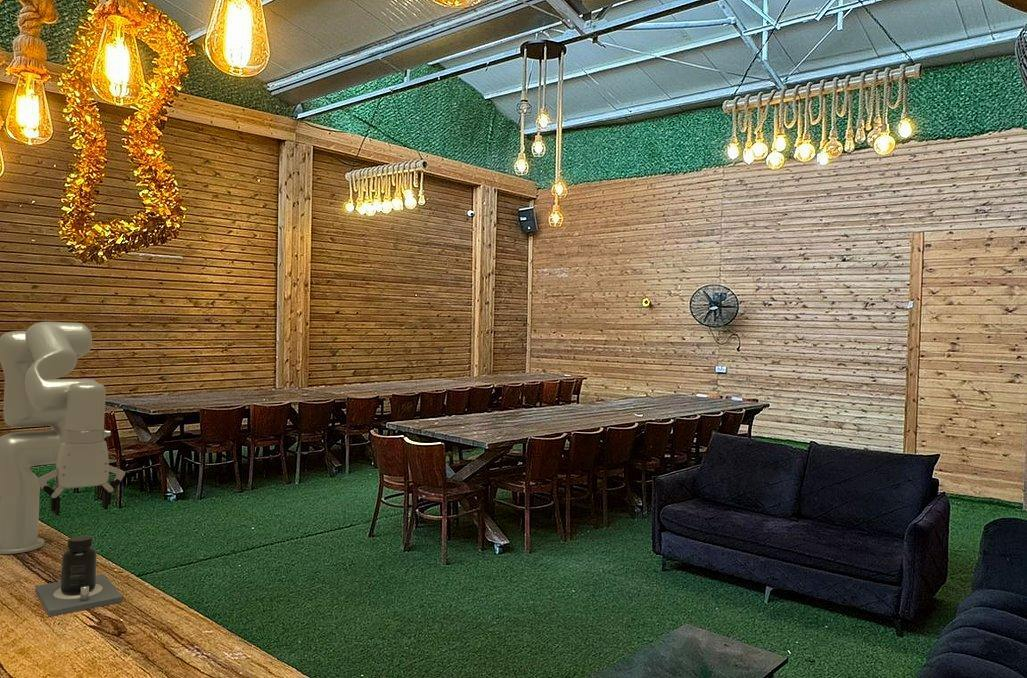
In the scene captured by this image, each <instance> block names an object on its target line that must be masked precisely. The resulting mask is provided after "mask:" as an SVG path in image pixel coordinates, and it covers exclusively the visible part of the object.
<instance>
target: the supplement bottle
mask: <svg viewBox="0 0 1027 678" xmlns="http://www.w3.org/2000/svg"><path fill="white" fill-rule="evenodd" d="M92 546H93V537H92V536H90V535H79V536H74V537H69V538H68V540H67V546H66V548H67V549H68V550H66V551H64V552H63V554H62V557H61V572H60V573H61V575H60V577H61V579H60V581H61V592H62V593H63V594H65V595H79V594H81V587H82V586H85V585H88V586H89V592H90V591H92V590H93V589H94V588H95V585H96V575H97V558H98V557H97V554H98V553H97V551H96V549H95V548H93V547H92Z"/></svg>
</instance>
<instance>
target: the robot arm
mask: <svg viewBox="0 0 1027 678" xmlns="http://www.w3.org/2000/svg"><path fill="white" fill-rule="evenodd" d="M92 346H93V336H92V332H91V330H90V329H89V327H88V326H87V325H85V324H84V323H80V322H62V321H40V322H36V323H33V324H32V325H30V326H28V328H27V329H26V330H16V331H15V330H14V331H8V332H5V333H3V334H2V335H0V365H1V368H2V371H3V374H4V375H3V376H4V388H3V389H4V390H3V391H4V393H3V420H4V422H5V424H6V425H7V426H10V427H11V428H13V427H14V428H30V427H31V428H32V427H47V426H49V427H50V428H51V429H47V430H45V429H44V430H31V431H30V430H29V431H28V430H27V431H26V430H25V431H16V432H15V431H14V432H10V433H5V434H4V435H1V436H0V555H11V554H12V555H13V554H23V553H26V552H27V553H28V552H31V551H35V550H37V549H40V548H42V547H43V546H44V545H45V539H44V538H42V537H39V523H40V522H39V520H40V519H39V517H40V516H39V515H40V494H41V492H40V491H41V489H42V491H43V492H44V493H46V494H47V495H49V496H50V511H51V512H53V514H54V515H55V516H59V515H60V514H61V513H60V509H61V497H60V495H61V493H62V492H63V491H64V490H65V489H76V488H77V489H78V488H87V487H88V488H89V487H98V486H102V488H103V490H102V491H101V492H102V493H101V508H102V509H104V510H105V511H106V510H109V506H111V505H112V493H113V491H114V490H115V489H116V488H117V487H118V486H119V485H120V484H121V482H122V480H123V478H124V477H125V475H126V472H125V471H124V470H122V469H120V468H118V467H114V466H112V465H110V464H109V462H110V461H109V450H108V445H107V441H106V440H105V439H106V438H107V437H111V435H112V432H111V430H107V429H105V412H106V410H105V409H106V387H105V385H104V384H102V383H100V382H97V380H96V379H91V378H62V377H65V376H67V375H68V374H70V373H71V372H72V371H74V369H75V368H76V366H77V364H78V359H80V358H83V357H85V356H86V355H87V354H88V353H89V352H90V350H91V349H92ZM53 464H54V465H55V464H56V467H55V469H53V470H51V471H49V472H48V473H45V474H43V475H41V476H39V477H38V475H36V474H35V473H34V472H33V471H32V469H31V467H37V466H44V465H46V466H47V465H53ZM110 473H112V474H114V475H115V477H114V478H113V479H112V481H110V482H108V481H109V479H110ZM52 479H54V481H55V484H56V485H55V486H53V487H52V488H51V487H50V486H49V485H48V483H47V482H49V481H50V480H52Z"/></svg>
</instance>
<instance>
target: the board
mask: <svg viewBox="0 0 1027 678" xmlns="http://www.w3.org/2000/svg"><path fill="white" fill-rule="evenodd" d="M34 589H35V590H34V592H35V593H36V596H37V597H38V599H39V601H40V603H41V604H42V606H43V608H44V610H45V612H46V614H47V616H48V617H49V618H50V617H54V616H60V615H65V614H70V613H74V611H75V612H79V611H78V610H80V611H85V610H89V609H95V608H101V607H104V606H109V605H114V604H120V603H123V595H121V593H120V592H119V590H117V588H116V587H115V586H114V585H113V583H112V582H111V581H110V580H109V578H108V577H107V576H106V575H105V574H104V573H102V574H96V585H95V588H94V589H93V590H92V591H90V592H89V586H88V585H85V586H82V587H81V594H79V595H65V594H63V593H62V592H61V580H60V581H55V582H49V583H44V584H39V585H35V587H34ZM84 609H85V610H84Z"/></svg>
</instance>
